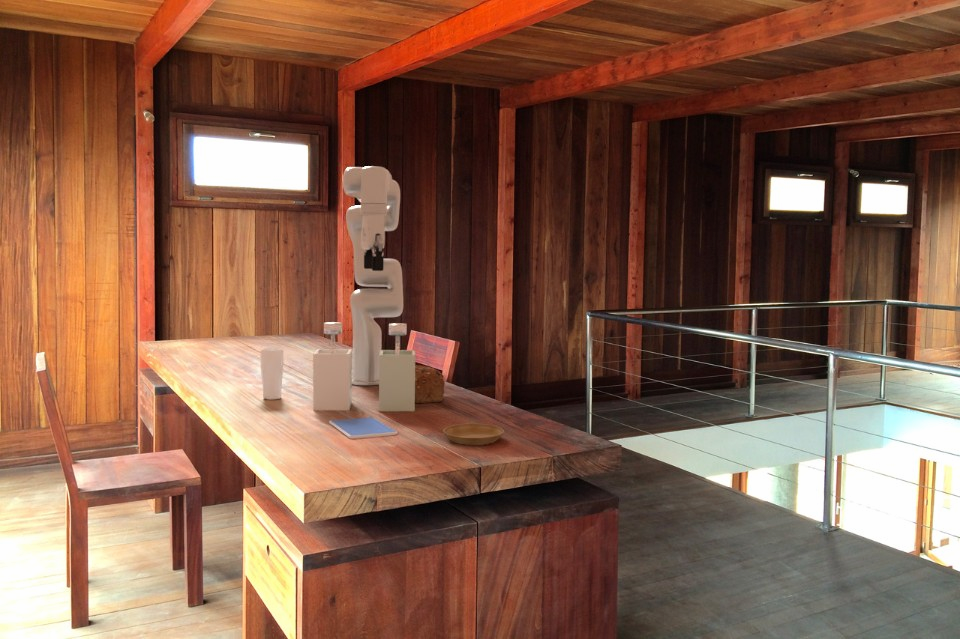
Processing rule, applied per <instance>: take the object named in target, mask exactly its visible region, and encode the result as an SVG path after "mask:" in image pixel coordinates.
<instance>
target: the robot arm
mask: <svg viewBox="0 0 960 639" xmlns="http://www.w3.org/2000/svg"><path fill="white" fill-rule="evenodd" d="M342 188H343V192H344V193H345V194H346V196H349V197H352V198H356V199H357V200H358V202H359V203H360V205H354V206H351V207H349V208H347V210H346V212H345V213H346V214H345V221H346V222H345V223H346V228H347V232H348V235H349V237H350V241H351V242H352V246H353V266H354V267H353V268H354V269H353V270H354V271H353V272H354V281H355V283H356V284H357V285H359V286H361V287H374V288H359V289H358V288H357V289H356V290H354V291H353V292H352V293H351V295H350V298H349V299H350V300H349V302H350V312H351V320H352V386H353V385H354V386H379V354H380V350H382V343H383V342H382V340H383V339H382V335H383V334H382V328H381V327H380V325H379V324H378V323H377V322H376V321H375V320H374V319H377V318H396V317H400V316H401V315H402V313H403V310H404V290H403V289H404V286H403V285H404V284H403V269H402V266H401V263H400V262H399V260H397V259H395V258H384V255H385V254H384V248H385V244H386V243H385V241H386V235H385V232H393V231H395V230H396V229H397V228H398V225H399V219H400V218H399V217H400V204H401V188H400V185H399V183H398V182H397V181H396V180H394V179H393V177H392V174H391V172H390V171H389V170H388V169H386V168H385V167H383V166H374V165H371V166H369V165H368V166H364V167H363V166H362V167H361V166H349V167H346V169H345V170H344V171H343V176H342ZM375 287H376V288H375ZM377 287H378V288H377ZM379 287H381V288H379ZM382 287H384V288H382ZM385 287H386V288H385Z"/></svg>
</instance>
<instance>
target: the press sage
mask: <svg viewBox="0 0 960 639" xmlns="http://www.w3.org/2000/svg"><path fill="white" fill-rule="evenodd" d="M415 365H416V350H413V349H411V350H410V349H409V350H408V349H407V350H406V349H401V350H400V355H395V349H381V350H380V354H379V385H378V389H379V390H378V391H379V392H378V412H415V411H416V410H415V409H416V408H415V406H416V405H415Z"/></svg>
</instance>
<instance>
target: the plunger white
mask: <svg viewBox="0 0 960 639" xmlns="http://www.w3.org/2000/svg"><path fill="white" fill-rule="evenodd" d="M342 333H343V322H339V321H338V322H335V321H331V322H330V321H329V322H323V334H324V335H329V336H330V349H331V354H335V349H336V335H342Z"/></svg>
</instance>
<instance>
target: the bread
mask: <svg viewBox="0 0 960 639" xmlns="http://www.w3.org/2000/svg"><path fill="white" fill-rule="evenodd" d="M444 378H445V375H444V374H443V373H441V372H440V371H439V370H438V369H435V368H433V367H429V366H425V365H420V364H419V365H418V364H415V403H416V404H427V403H440V402H441V401H443V398H444V394H445V384H446V382H445V379H444Z"/></svg>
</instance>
